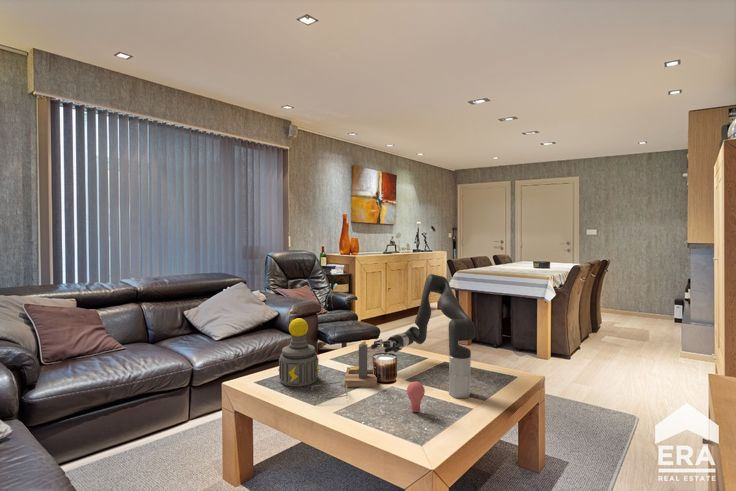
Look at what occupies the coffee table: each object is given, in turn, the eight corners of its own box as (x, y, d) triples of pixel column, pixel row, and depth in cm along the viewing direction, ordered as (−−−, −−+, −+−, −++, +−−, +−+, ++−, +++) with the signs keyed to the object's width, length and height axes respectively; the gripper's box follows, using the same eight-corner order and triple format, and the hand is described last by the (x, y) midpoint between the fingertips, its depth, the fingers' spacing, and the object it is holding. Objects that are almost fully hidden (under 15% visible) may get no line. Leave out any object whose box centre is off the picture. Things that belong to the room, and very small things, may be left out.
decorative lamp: (322, 373, 215) (321, 314, 213) (313, 388, 196) (313, 323, 194) (285, 372, 217) (284, 313, 215) (273, 386, 198) (272, 322, 196)
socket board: (376, 387, 198) (376, 379, 197) (344, 386, 198) (344, 379, 198) (376, 373, 215) (376, 366, 215) (347, 373, 216) (347, 366, 216)
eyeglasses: (350, 402, 182) (350, 390, 182) (314, 405, 179) (314, 393, 178) (343, 388, 197) (343, 377, 197) (311, 391, 194) (311, 380, 194)
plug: (367, 378, 200) (367, 342, 200) (358, 378, 201) (358, 342, 200) (367, 375, 204) (367, 340, 204) (359, 375, 205) (359, 340, 204)
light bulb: (412, 406, 177) (413, 377, 177) (427, 411, 173) (428, 381, 172) (403, 412, 172) (403, 382, 171) (418, 417, 167) (418, 386, 167)
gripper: (387, 332, 227) (367, 338, 215) (409, 337, 218) (389, 344, 206) (387, 345, 228) (367, 353, 216) (409, 351, 218) (389, 359, 206)
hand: (378, 348), depth 211 cm, fingers open, 8 cm apart
